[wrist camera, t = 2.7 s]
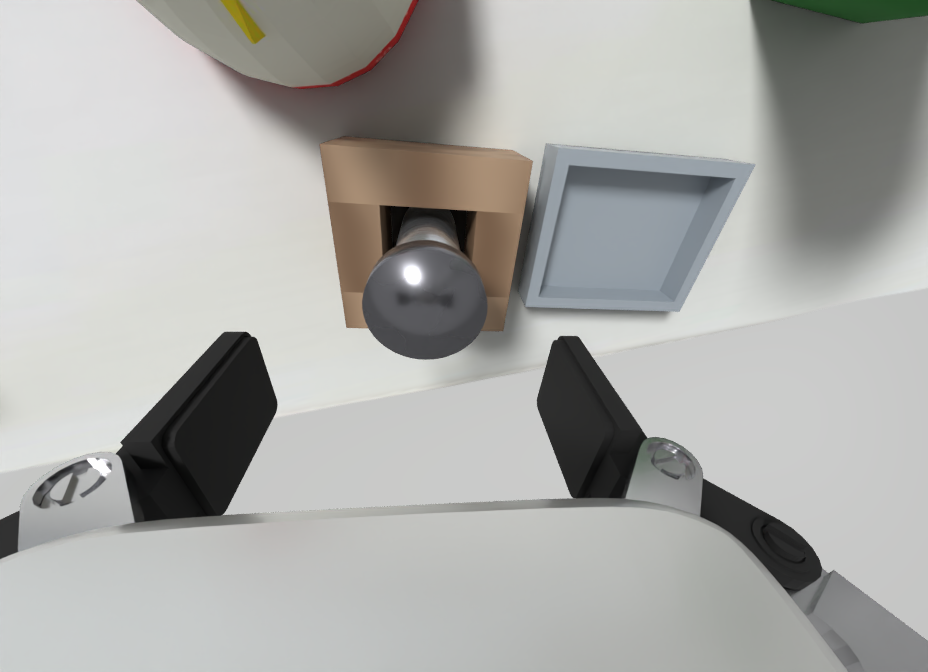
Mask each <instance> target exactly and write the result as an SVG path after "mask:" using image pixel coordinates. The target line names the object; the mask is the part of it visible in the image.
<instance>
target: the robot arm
mask: <svg viewBox="0 0 928 672" xmlns="http://www.w3.org/2000/svg"><path fill="white" fill-rule="evenodd" d="M537 407H538V410H539V413H540V416H541V418H542V421H543V423H544V426H545V429H546V431H547V434H548V437H549V439H550V442H551V444H552V447H553V450H554V453H555V455H556V458H557V460H558V463H559V466H560V468H561V471H562V474H563V476H564V479H565V481H566V484H567V487H568V490H569V492H570V494H571V496H572V497H573V498H576V499H540V500H517V501H494V502H471V503H449V504H428V505H409V506H389V507H388V506H387V507H368V508H347V509H328V510H309V511H292V512H275V513H274V512H273V513H254V514H237V515H223V514H224V513H225V511H226V509H227V508H228V506H229V504H230V502H231V500H232V498H233V496H234V494H235V492H236V490H237V488H238V486H239V484H240V482H241V480H242V478H243V476H244V474H245V472H246V470H247V468H248V466H249V465H250V462H251V461H252V458H253V457H254V455H255V453H256V451H257V449H258V447H259V445H260V443H261V441H262V439H263V437H264V435H265V433H266V431H267V429H268V427H269V425H270V423H271V421H272V419H273V417H274V415H275V413H276V411H277V399H276V396H275V393H274V390H273V387H272V384H271V381H270V378H269V375H268V372H267V369H266V366H265V362H264V359H263V356H262V353H261V350H260V347H259V344H258V341H257V339H256V338H255V337H251V335H250V334H249V333H247V332H224V333H223V334H221V336H220V337H219V338H218V339H217V340H216V341H215V342H214V343H213V344H212V345H211V346H210V347H209V348H208V349H207V350H206V352H205V353H204V354H203V355H202V356H201V357H200V358H199V359H198V360H197V361H196V362H195V363H194V364H193V365H192V366H191V368H190V369H189V370H188V371H187V372H186V373H185V374H184V375H183V376H182V377H181V378H180V379H179V380H178V381H177V383H176V384H175V385H174V386H173V387H172V388H171V389H170V390H169V391H168V392H167V393H166V394H165V395H164V396H163V397H162V399H161V400H160V401H159V402H158V403H157V404H156V405H155V406H154V407H153V408H152V409H151V410H150V411H149V412H148V413H147V415H146V416H145V417H144V418H143V419H142V420H141V421H140V422H139V423H138V424H137V425H136V426H135V427H134V428H133V429H132V431H131V432H130V433H129V434H128V435H127V436H126V437H125V438H124V439H123V440H122V441H121V442H120V443H121V444H122V445H123V446H122V448H121V449H120V450H119V451H118V452H117V453H116V454H114V453H111V452H97V453H91V454H86V455H83V456H80V457H77V458H74V459H72V460H70V461H67V462H65V463H63V464H61V465H59V466H57V467H56V468H54V469H52V470H51V471H49V472H48V473H46V474H45V475H43V476H42V477H41V478H40V479H38V480H37V481H36V482H35V483H34V484H33V485H31V487H30V488H29V489H28V491H27V492H26V493H25V494H24V496H23V498H22V501H21V504H20V511H18V512H16V513H13V514H11V515H9V516H7V517H5V518H3V519H1V520H0V672H928V641H927V640H926V639H925V638H923V637H922V636H921V635H919V634H918V633H917V632H915V631H914V630H913V629H911V628H910V627H909V626H907V625H906V624H905V623H903V622H902V621H901V620H899V619H898V618H897V617H895V616H894V615H893V614H891V613H890V612H889V611H887V610H886V609H885V608H883V607H882V606H881V605H880V604H878V603H877V602H876V601H874V600H873V599H872V598H870V597H869V596H868V595H866V594H865V593H864V592H862V591H861V590H860V589H858V588H857V587H855V586H854V585H853V584H851V583H850V582H849V581H848V580H846V579H845V578H844V577H842V576H841V575H840V574H838V573H837V572H836V571H834V570H833V571H832V572H830V573H827V572H826V571H825V570H824V569H822V567H821V563H820V560H819V558H818V556H817V555H816V553H815V551H814V550H813V548H812V547H811V546H810V545H809V544H808V543H807V542H806V540H805V539H804V538H803V537H802V536H801V535H799V534H798V533H797V532H796V531H795V530H794V529H792V528H791V527H789V526H788V525H786V524H785V523H783V522H782V521H780V520H778V519H776V518H775V517H773V516H771V515H769V514H767V513H765V512H763V511H762V510H760V509H758V508H756V507H754V506H752V505H751V504H749V503H747V502H745V501H743V500H742V499H740V498H738V497H736V496H734V495H732V494H731V493H729V492H726V491H725V490H723V489H721V488H720V487H718V486H716V485H714V484H712V483H710V482H709V481H707V480H705V479H703V472H702V468H701V466H700V464H699V462H698V461H697V459H696V458H695V457H694V456H693V455H692V454H691V453H690V452H689V451H688V450H686V449H685V448H684V447H682V446H681V445H679V444H677V443H675V442H673V441H671V440H668V439H665V438H659V437H652V438H647V437H646V435H645V434H644V432H643V431H642V429H641V428H640V426H639V425H638V423H637V422H636V420H635V419H634V417H633V416H632V414H631V413H630V411H629V410H628V409H627V407H626V406H625V404H624V403H623V401H622V400H621V398H620V397H619V395H618V394H617V392H616V391H615V390H614V388H613V387H612V385H611V384H610V382H609V381H608V379H607V378H606V376H605V375H604V373H603V372H602V371H601V369H600V368H599V366H598V365H597V363H596V362H595V360H594V359H593V357H592V356H591V354H590V353H589V351H588V350H587V349H586V347H585V346H584V344H583V343H582V341H581V340H580V338H579V337H577V336H560V337H559V338H558V340H554V341H553V343H552V346H551V350H550V354H549V357H548V361H547V365H546V368H545V372H544V375H543V379H542V383H541V387H540V390H539V394H538V397H537Z"/></svg>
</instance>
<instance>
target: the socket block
mask: <svg viewBox="0 0 928 672" xmlns="http://www.w3.org/2000/svg"><path fill="white" fill-rule="evenodd" d="M319 145H320V151H321V158H322V165H323V172H324V178H325V185H326V192H327V199H328V206H329V212H330V219H331V226H332V233H333V239H334V246H335V253H336V260H337V267H338V273H339V280H340V287H341V294H342V300H343V307H344V314H345V321H346V328H368V326H367V324H366V322H365V319H364V316H363V310H362V298H363V293H364V289H365V286H366V283H367V281H368V278H369V276H370V273H371V271H372V269H373V267H374V266H375V264H376V263H377V261H378V260H379V259H380V258H381V257H382V256H383V255H384V254H385V253H386V252H388V251H389V250H391V249H392V248H393V243H392V221H391V206H403V207H419V208H435V209H451V210H467V217H466V230H465V242H464V254H465V255H466V256H467V257H468V258H469V259H470V260H471V261H472V262H473V264H474V265H475V266H476V268H477V270H478V271H479V273H480V276H481V278H482V282H483V285H484V289H485V293H486V297H487V305H488V308H487V316H486V320H485V323H484V326H483V328H482V329H481V331H503V329H504V323H505V318H506V312H507V306H508V301H509V295H510V289H511V283H512V278H513V272H514V266H515V260H516V255H517V249H518V243H519V238H520V232H521V226H522V220H523V215H524V209H525V203H526V198H527V192H528V186H529V180H530V175H531V169H532V163H533V161H532V160H530V159H528V158H526V157H524V156H522V155H520V154H519V153H517V152H515V151H513V150H503V149H491V148H479V147H467V146H455V145H443V144H431V143H419V142H407V141H395V140H383V139H371V138H359V137H347V136H343V137H340V138H337V139H334V140H330V141H327V142H324V143H321V144H319Z"/></svg>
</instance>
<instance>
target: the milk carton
mask: <svg viewBox="0 0 928 672" xmlns="http://www.w3.org/2000/svg"><path fill="white" fill-rule="evenodd" d="M772 1H776V2H780V3H784V4H788V5H792V6H796V7H800V8H804V9H808V10H812V11H815V12H819V13H823V14H827V15H831V16H835V17H839V18H843V19H847V20H851V21H855V22H859V23H868V22H877V21H886V20H894V19H902V18H911V17H920V16H927V15H928V0H772Z"/></svg>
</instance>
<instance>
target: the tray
mask: <svg viewBox="0 0 928 672" xmlns="http://www.w3.org/2000/svg"><path fill="white" fill-rule="evenodd" d="M755 165H756V164H750V163H744V162H738V161H733V160H727V159H718V158H707V157H695V156H683V155H672V154H660V153H649V152H637V151H626V150H614V149H602V148H591V147H579V146H568V145H556V144H546V146H545V151H544V157H543V162H542V167H541V172H540V178H539V183H538V188H537V194H536V199H535V204H534V209H533V215H532V220H531V225H530V230H529V236H528V241H527V246H526V252H525V257H524V262H523V267H522V273H521V278H520V283H519V288H518V292H519V294H520V296H521V299H522V301H523V303H524V305H525V307H546V308H578V309H611V310H643V311H675V312H679V311H680V309H681V308H682V306H683V304H684V302H685V300H686V298H687V296H688V294H689V292H690V290H691V288H692V286H693V284H694V282H695V280H696V279H697V277H698V275H699V273H700V271H701V269H702V267H703V265H704V263H705V261H706V259H707V257H708V255H709V253H710V252H711V250H712V248H713V246H714V244H715V242H716V240H717V238H718V236H719V234H720V232H721V230H722V228H723V226H724V225H725V223H726V221H727V219H728V217H729V215H730V213H731V211H732V209H733V207H734V205H735V203H736V201H737V199H738V197H739V196H740V194H741V192H742V190H743V188H744V186H745V184H746V182H747V180H748V178H749V176H750V174H751V172H752V170H753V169H754V167H755Z"/></svg>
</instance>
